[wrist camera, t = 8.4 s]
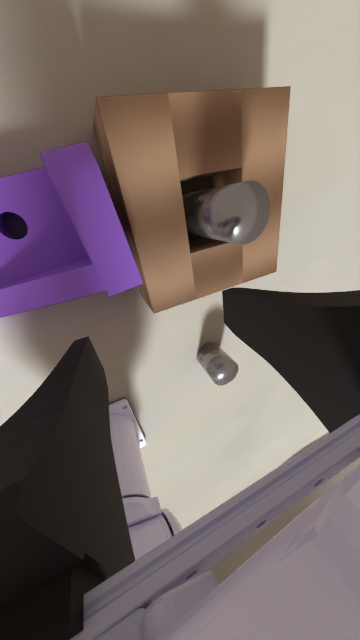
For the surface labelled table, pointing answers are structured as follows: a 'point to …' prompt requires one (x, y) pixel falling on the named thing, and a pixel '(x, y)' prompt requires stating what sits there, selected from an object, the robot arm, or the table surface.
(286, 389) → the table surface
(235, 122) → the hole block
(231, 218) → the tall pin
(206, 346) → the short pin
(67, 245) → the bracket
